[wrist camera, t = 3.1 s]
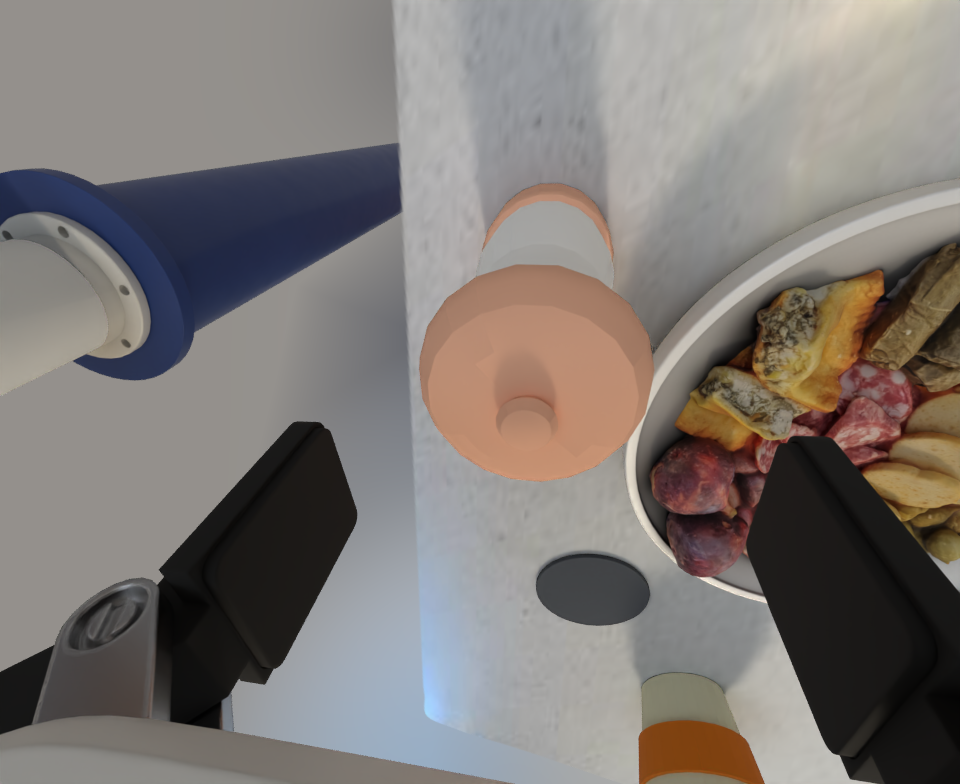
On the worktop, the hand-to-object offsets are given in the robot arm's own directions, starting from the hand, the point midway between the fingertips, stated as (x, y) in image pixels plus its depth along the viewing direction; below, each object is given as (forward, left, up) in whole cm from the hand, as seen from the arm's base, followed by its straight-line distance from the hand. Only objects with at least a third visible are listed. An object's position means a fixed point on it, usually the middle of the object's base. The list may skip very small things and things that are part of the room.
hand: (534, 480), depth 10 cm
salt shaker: (0, 0, -21) cm, 21 cm away
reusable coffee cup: (+15, -52, -21) cm, 58 cm away
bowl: (+20, -12, -21) cm, 31 cm away
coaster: (+4, -34, -21) cm, 40 cm away
